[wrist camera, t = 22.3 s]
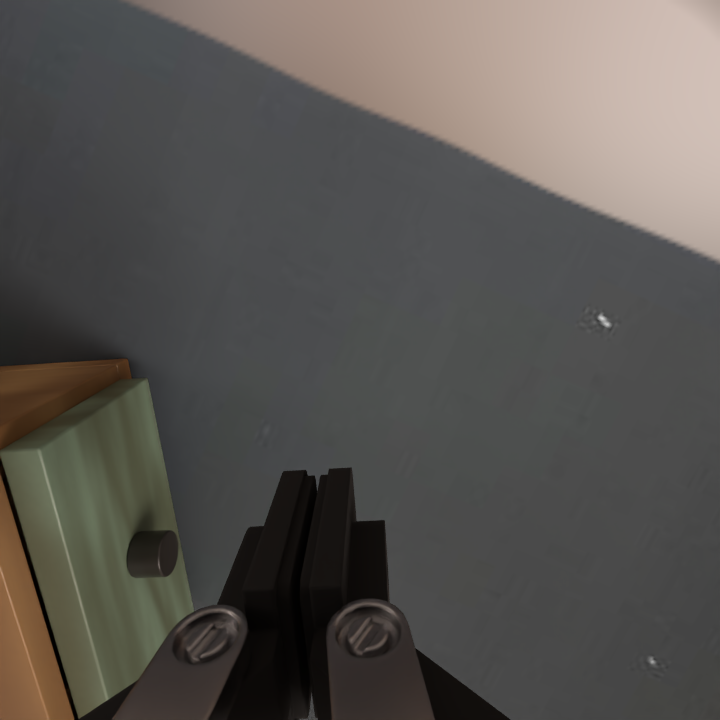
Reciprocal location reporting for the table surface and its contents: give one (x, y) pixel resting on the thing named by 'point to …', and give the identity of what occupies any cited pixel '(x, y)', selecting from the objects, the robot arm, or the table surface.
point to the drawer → (100, 538)
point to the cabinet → (3, 545)
